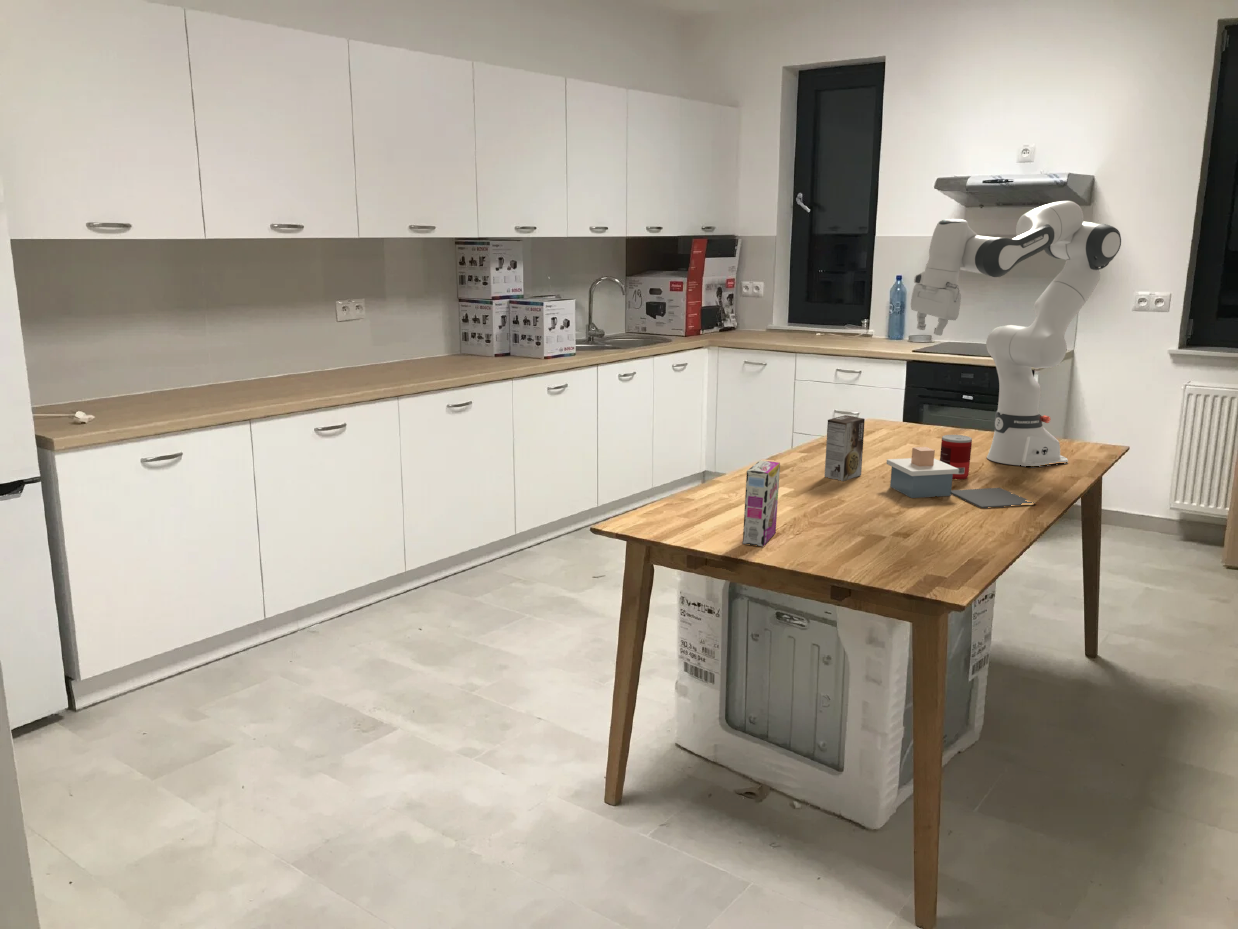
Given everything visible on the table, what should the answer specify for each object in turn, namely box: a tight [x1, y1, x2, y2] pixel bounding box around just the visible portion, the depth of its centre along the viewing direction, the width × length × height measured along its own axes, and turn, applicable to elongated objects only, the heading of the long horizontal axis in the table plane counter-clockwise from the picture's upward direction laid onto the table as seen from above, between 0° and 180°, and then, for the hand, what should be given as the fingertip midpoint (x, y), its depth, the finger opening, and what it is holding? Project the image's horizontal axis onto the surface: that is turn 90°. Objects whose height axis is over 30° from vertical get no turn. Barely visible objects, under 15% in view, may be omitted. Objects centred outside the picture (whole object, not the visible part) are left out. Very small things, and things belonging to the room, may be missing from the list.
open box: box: [889, 466, 953, 499], centre depth 248 cm, size 11×11×6 cm
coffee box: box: [824, 415, 866, 482], centre depth 261 cm, size 9×6×16 cm
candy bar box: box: [742, 460, 781, 548], centre depth 208 cm, size 11×5×16 cm, turn 157°
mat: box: [951, 487, 1035, 509], centre depth 243 cm, size 15×15×1 cm
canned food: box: [939, 434, 973, 480], centre depth 263 cm, size 8×8×11 cm
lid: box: [886, 446, 959, 476], centre depth 247 cm, size 13×13×5 cm
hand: (929, 332), depth 260 cm, fingers open, 8 cm apart
